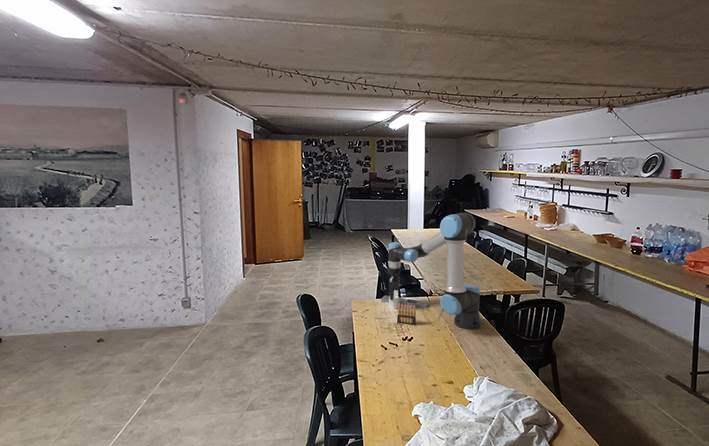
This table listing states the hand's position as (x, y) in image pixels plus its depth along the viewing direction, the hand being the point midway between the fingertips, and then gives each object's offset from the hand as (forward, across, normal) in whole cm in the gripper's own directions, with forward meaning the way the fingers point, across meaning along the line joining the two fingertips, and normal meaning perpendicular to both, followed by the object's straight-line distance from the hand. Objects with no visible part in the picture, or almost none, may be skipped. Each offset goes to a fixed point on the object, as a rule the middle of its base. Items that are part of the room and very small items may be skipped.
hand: (393, 302), depth 248 cm
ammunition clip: (+5, +18, +14) cm, 23 cm away
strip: (+5, -10, +10) cm, 15 cm away
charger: (+5, 0, 0) cm, 5 cm away
